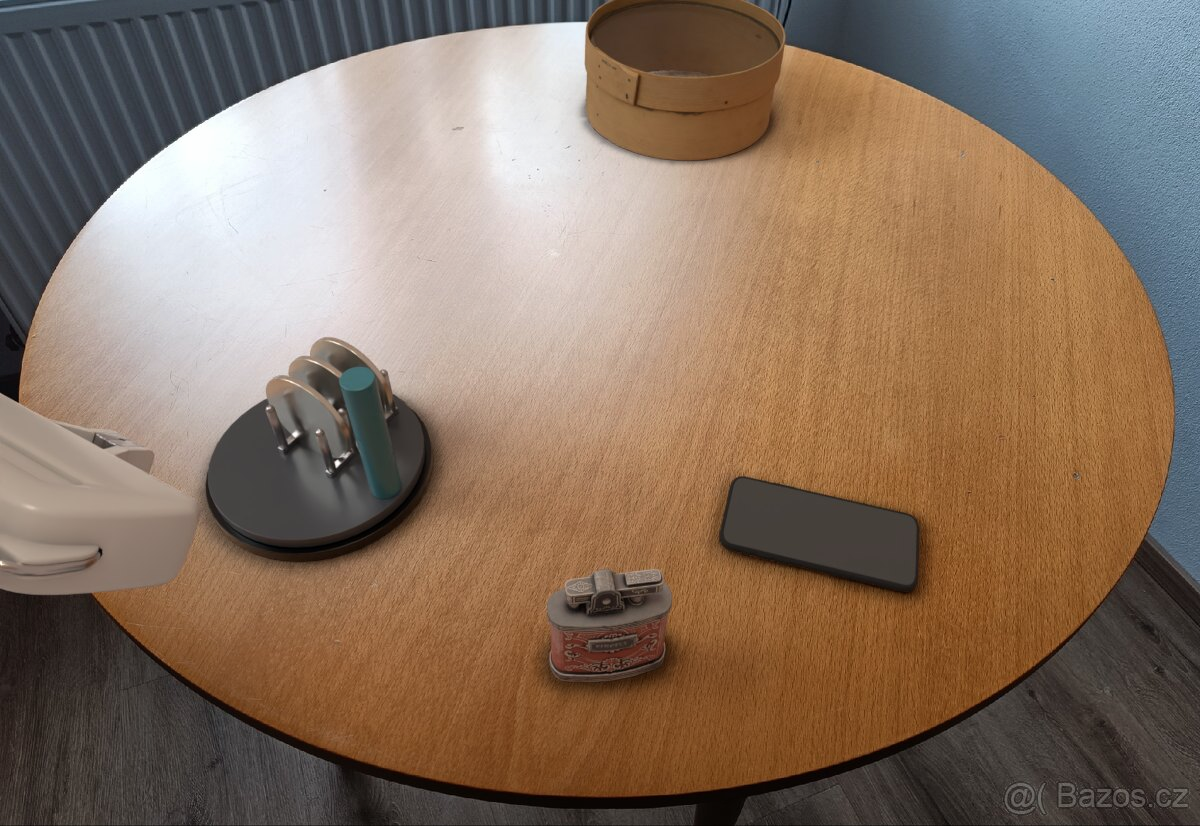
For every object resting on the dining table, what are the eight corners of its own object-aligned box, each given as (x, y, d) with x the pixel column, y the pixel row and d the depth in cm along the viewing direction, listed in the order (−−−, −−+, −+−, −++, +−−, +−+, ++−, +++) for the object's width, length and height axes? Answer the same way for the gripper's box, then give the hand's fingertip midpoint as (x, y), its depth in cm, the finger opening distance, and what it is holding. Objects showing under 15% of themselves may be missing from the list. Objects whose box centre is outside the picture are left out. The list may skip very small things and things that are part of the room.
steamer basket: (636, 180, 102) (640, 89, 94) (554, 90, 118) (552, 5, 110) (809, 138, 110) (827, 50, 102) (710, 59, 125) (719, -23, 117)
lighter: (552, 688, 58) (548, 612, 51) (547, 643, 61) (542, 564, 53) (669, 672, 59) (681, 595, 52) (659, 628, 61) (669, 548, 54)
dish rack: (330, 583, 62) (285, 469, 53) (164, 491, 68) (97, 374, 59) (466, 433, 73) (448, 315, 63) (312, 364, 78) (275, 247, 69)
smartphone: (919, 592, 63) (717, 543, 65) (915, 598, 63) (715, 550, 66) (920, 514, 68) (732, 471, 70) (917, 521, 68) (731, 478, 71)
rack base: (334, 599, 63) (331, 592, 62) (160, 502, 69) (155, 494, 68) (475, 440, 74) (474, 432, 73) (315, 367, 80) (312, 359, 79)
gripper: (22, 488, 27) (306, 476, 40) (-317, 288, 34) (21, 333, 47) (-36, 668, 28) (263, 599, 41) (-358, 436, 35) (-13, 440, 48)
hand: (132, 455), depth 44 cm, fingers closed
